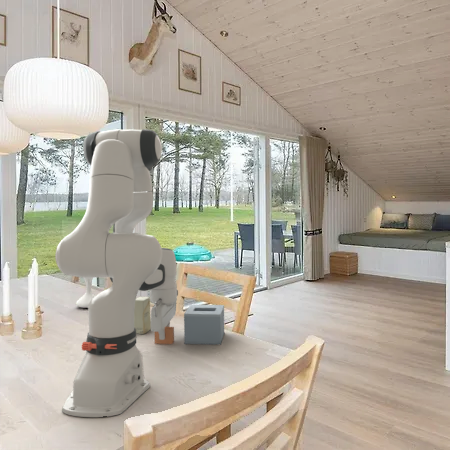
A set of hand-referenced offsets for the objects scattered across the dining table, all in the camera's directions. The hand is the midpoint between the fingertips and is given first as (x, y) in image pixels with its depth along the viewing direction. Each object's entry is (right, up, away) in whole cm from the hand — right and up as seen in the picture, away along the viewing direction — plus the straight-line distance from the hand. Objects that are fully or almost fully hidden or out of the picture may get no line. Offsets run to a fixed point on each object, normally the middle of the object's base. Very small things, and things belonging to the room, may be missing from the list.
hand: (164, 336), depth 136 cm
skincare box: (-10, -2, +12) cm, 16 cm away
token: (0, -2, 0) cm, 2 cm away
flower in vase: (-41, 0, +48) cm, 64 cm away
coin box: (+13, -2, +4) cm, 14 cm away
